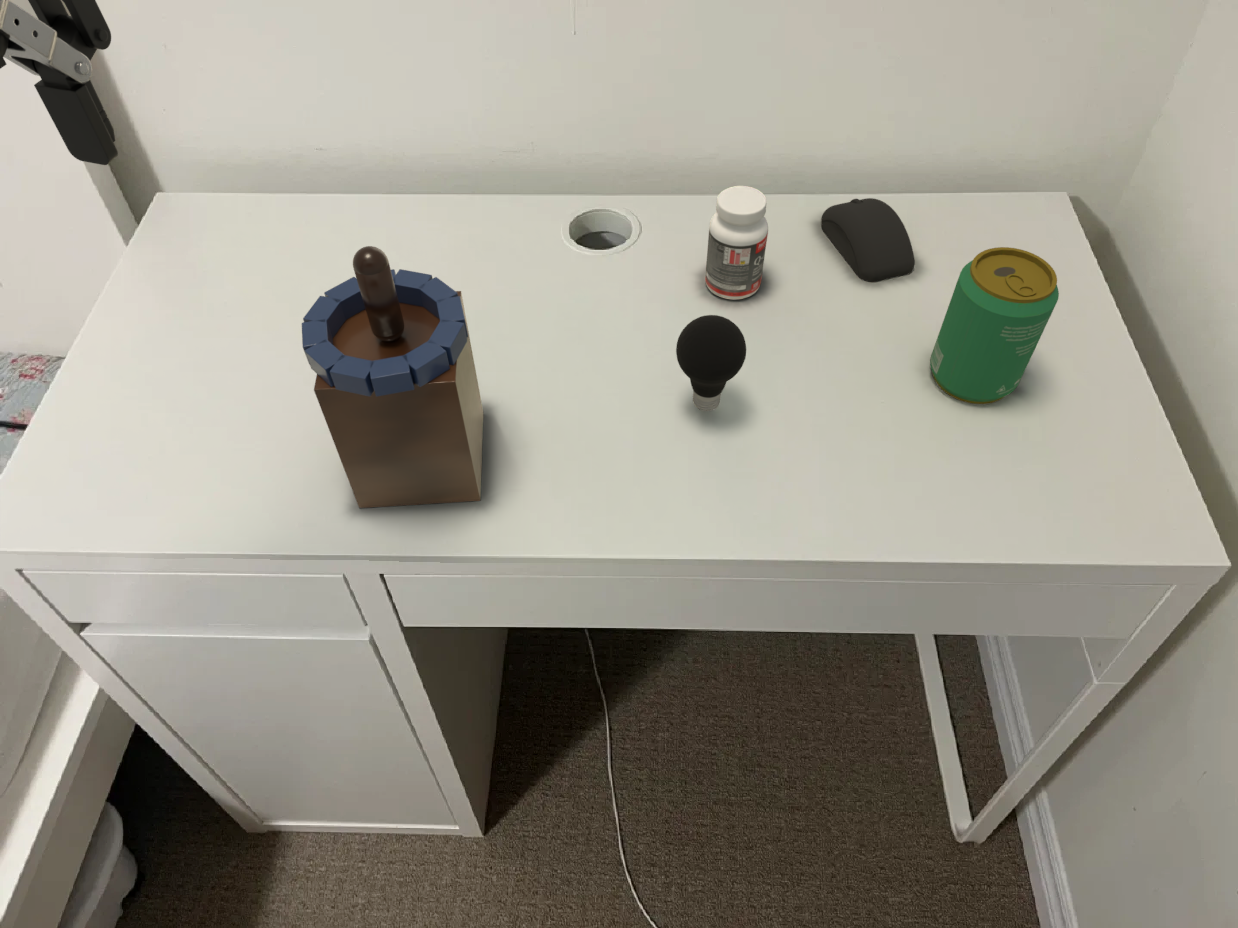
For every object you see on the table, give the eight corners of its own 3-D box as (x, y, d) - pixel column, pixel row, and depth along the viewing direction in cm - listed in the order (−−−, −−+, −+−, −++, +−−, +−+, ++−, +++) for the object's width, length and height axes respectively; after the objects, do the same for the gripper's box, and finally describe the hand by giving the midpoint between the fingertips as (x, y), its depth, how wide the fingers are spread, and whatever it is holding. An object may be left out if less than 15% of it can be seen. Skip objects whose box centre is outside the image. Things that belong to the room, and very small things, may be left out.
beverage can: (983, 338, 87) (1025, 234, 78) (1034, 394, 83) (1085, 291, 73) (910, 358, 86) (944, 254, 76) (958, 417, 81) (1001, 314, 72)
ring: (311, 408, 63) (304, 390, 62) (306, 302, 70) (299, 284, 69) (477, 378, 65) (473, 360, 63) (455, 277, 72) (452, 259, 71)
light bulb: (749, 421, 81) (762, 337, 73) (689, 439, 79) (695, 356, 72) (720, 377, 84) (730, 293, 77) (662, 394, 83) (666, 310, 75)
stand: (359, 508, 75) (279, 302, 58) (371, 418, 81) (303, 209, 64) (480, 500, 75) (437, 293, 58) (483, 412, 82) (445, 202, 65)
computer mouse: (867, 210, 101) (874, 178, 98) (918, 271, 94) (928, 239, 91) (815, 221, 99) (821, 189, 96) (863, 284, 93) (871, 252, 90)
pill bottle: (762, 302, 91) (774, 218, 83) (705, 301, 91) (712, 218, 83) (758, 265, 95) (769, 182, 87) (703, 265, 95) (710, 182, 87)
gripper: (-141, -295, 33) (70, 118, 46) (-561, -173, 25) (-159, 295, 37) (30, -283, 32) (200, 140, 44) (-353, -148, 23) (-8, 330, 36)
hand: (36, 210), depth 41 cm, fingers open, 8 cm apart
